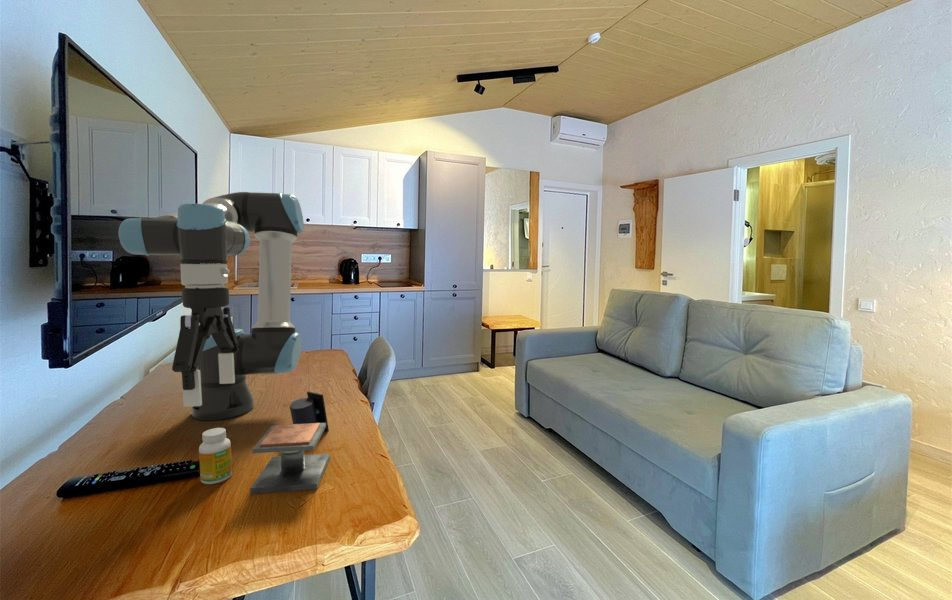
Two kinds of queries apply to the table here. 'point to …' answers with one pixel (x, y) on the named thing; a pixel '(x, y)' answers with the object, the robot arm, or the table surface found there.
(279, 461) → the stand
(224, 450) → the supplement bottle
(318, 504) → the table surface
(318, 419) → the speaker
